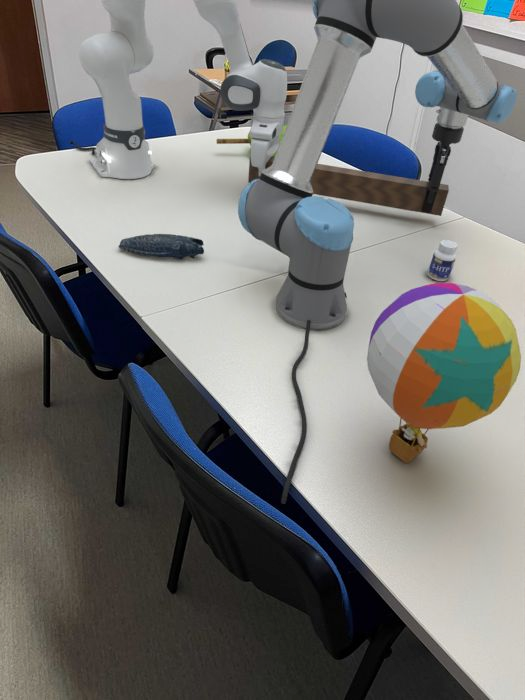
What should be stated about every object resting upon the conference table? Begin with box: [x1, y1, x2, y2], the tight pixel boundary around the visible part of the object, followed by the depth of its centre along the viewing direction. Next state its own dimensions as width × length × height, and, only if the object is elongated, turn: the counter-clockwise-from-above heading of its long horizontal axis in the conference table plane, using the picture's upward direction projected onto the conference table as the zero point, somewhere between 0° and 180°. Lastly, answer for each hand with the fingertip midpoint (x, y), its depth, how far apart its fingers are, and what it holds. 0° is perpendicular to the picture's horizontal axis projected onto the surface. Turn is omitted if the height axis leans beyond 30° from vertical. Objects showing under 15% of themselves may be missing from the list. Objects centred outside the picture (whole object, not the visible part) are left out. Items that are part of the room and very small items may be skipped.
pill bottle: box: [427, 239, 458, 282], centre depth 126 cm, size 5×5×9 cm
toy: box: [366, 282, 522, 464], centre depth 73 cm, size 20×20×30 cm
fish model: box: [118, 233, 205, 260], centre depth 125 cm, size 7×21×5 cm, turn 84°
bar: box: [247, 156, 450, 217], centre depth 153 cm, size 58×5×8 cm, turn 76°
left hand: (264, 172), depth 157 cm, fingers closed on bar, 5 cm apart
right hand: (426, 208), depth 151 cm, fingers closed on bar, 5 cm apart
